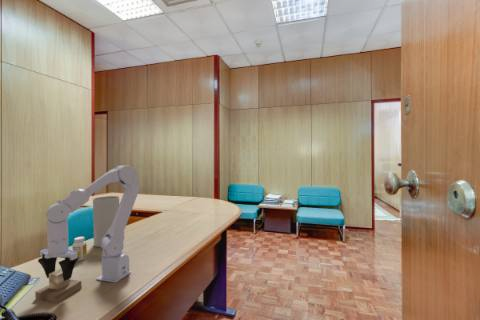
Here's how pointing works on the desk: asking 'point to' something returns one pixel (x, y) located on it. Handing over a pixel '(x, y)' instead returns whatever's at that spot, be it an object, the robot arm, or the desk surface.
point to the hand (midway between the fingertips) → (59, 277)
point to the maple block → (57, 280)
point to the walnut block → (58, 292)
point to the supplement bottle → (80, 247)
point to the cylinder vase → (103, 216)
